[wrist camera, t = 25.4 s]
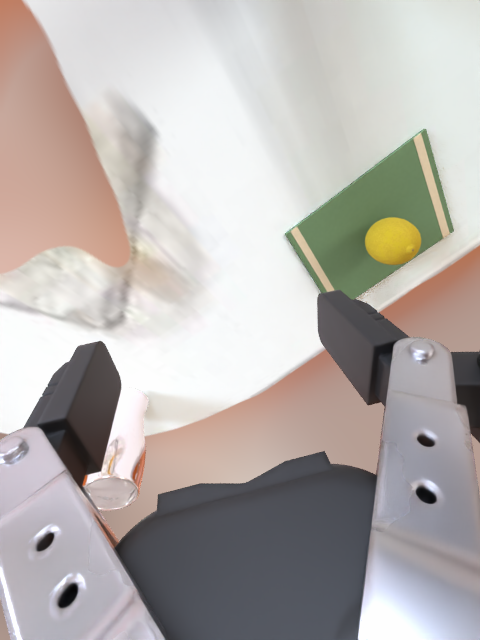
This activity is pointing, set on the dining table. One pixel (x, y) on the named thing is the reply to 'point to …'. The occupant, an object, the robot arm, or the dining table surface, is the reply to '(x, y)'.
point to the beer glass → (122, 455)
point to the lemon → (392, 241)
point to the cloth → (373, 219)
